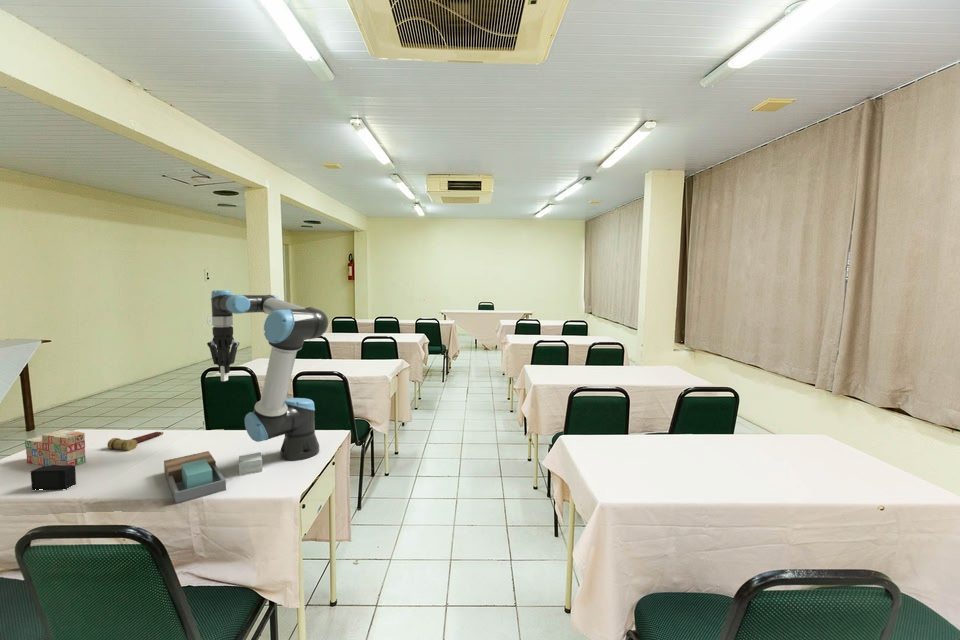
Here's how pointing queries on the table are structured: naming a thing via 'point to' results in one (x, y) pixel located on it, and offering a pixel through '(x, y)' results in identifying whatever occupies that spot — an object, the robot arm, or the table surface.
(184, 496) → the bin
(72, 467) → the digital camera
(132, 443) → the gavel
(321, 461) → the table surface
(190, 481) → the teal block
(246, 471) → the small box
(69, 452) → the stack of blocks
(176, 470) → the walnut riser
